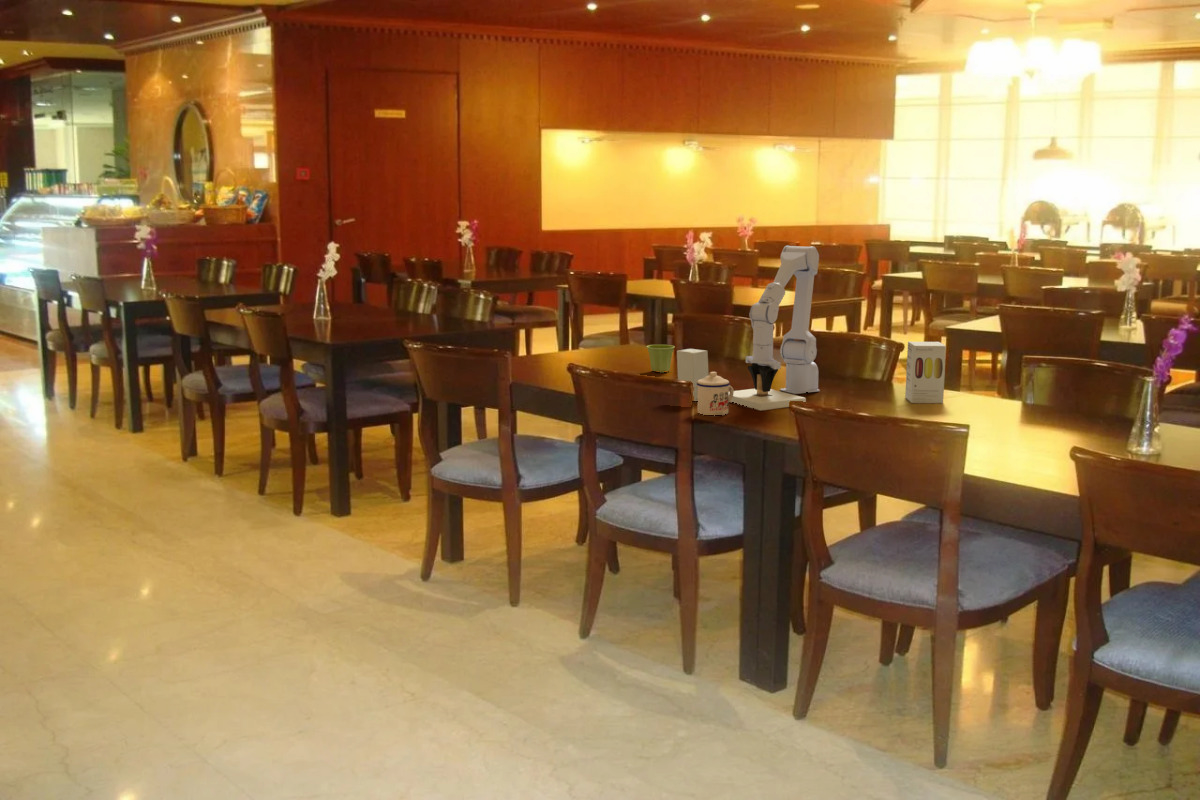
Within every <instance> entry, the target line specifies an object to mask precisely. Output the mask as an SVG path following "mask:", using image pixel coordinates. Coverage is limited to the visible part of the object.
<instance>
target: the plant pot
mask: <svg viewBox="0 0 1200 800" xmlns="http://www.w3.org/2000/svg"><path fill="white" fill-rule="evenodd" d="M675 348H676V347H675V345H670V344H649V345H647V346H646V349H647V351H648V354H649V362H650V369H651V370H653V371H659V372H660V373H664V371H669V370H670V371H671V365H672V364H671V363H672V358H673V353H674V349H675ZM670 371H669V372H670Z"/></svg>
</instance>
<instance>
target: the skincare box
mask: <svg viewBox="0 0 1200 800" xmlns="http://www.w3.org/2000/svg"><path fill="white" fill-rule="evenodd" d="M676 363H677V364H676V365H677V366H676V367H677V368H676V369H677V381H678V380H685V381H691V382H692V383H693V387H694V391H693V396H694V401H698V385H697V381H698V380H700V379H703V378H705V377H706V376H709V375H710V373H709V355H708V350H704V349H695V348H686V349H680V350H676Z"/></svg>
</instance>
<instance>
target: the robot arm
mask: <svg viewBox="0 0 1200 800" xmlns="http://www.w3.org/2000/svg"><path fill="white" fill-rule="evenodd" d="M819 261H820V254H819V252H818V250H817V248H816V247H815V246H813V245H812V246H797V245H785V246H784V247H783V249H781V253H780V266H779V268H778V270H777V273H776V275H775V277H774V280H773V282H770V283H768V284H767V285H766V287H765V289H764V290H763V293H762V294H761V295H760V297H759V299H758V301H757V302H755V303H753V304H752V306H751V307H750V310H749V313H748V314H749V320H750V322H751V328H752V331H753V333H752V335H753V336H752V337H753V340H752V343H753V344H752V347H753V348H752V355H746V356H745V363H746V364H751V365H748V366H747V370H748V371H749V373H750V375H751V378H752V381H753V382H752V383H753V385H754V389H755V390H757V374H761V379H762V389H763V392H768V391H770V389H772V385H773V381H774V379H775V376H776V375H777V373H778V371H779V370H781V367H782V362H780V361H778V360H775V359H774V323H775V322H776V320H777V319H778V315H779V311H780V310H779V309H780V307H779V306H780V304H781V302H782V300H783V299H784V296H786V290H785V287H786V285H787V284H788V283H789V282H790V280H791V278H792V277H793V275H794V277H795V278H796V282H795V283H796V284H795V290H794V302H793V309H792V320H791V327H790V328H791V329H790V330H788V332H787V333H785V334H784V335H783V339H782V343H781V345H780V349H779V350H780V351H779V353H780V356H781V359H782V360H783V363H785V387H784V388H783V387H782V388H779V391H780V392H784V393H788V394H792V395H798V394H799V395H800V394H807V393H806V392H808V393H816V392H820V391H821V390H820V389H819V367H818V365H817V364H816V362H814V360H815V359H816V357H817V354H818V353H817V352H818V349H817V337H815V336H814V334H812V333H811V332H810V331H809V329H810V328H809V327H810V319H811V309H812V301H813V293H814V292H813V291H814V280H815V276H816V275H818V270H819V263H820V262H819Z"/></svg>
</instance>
